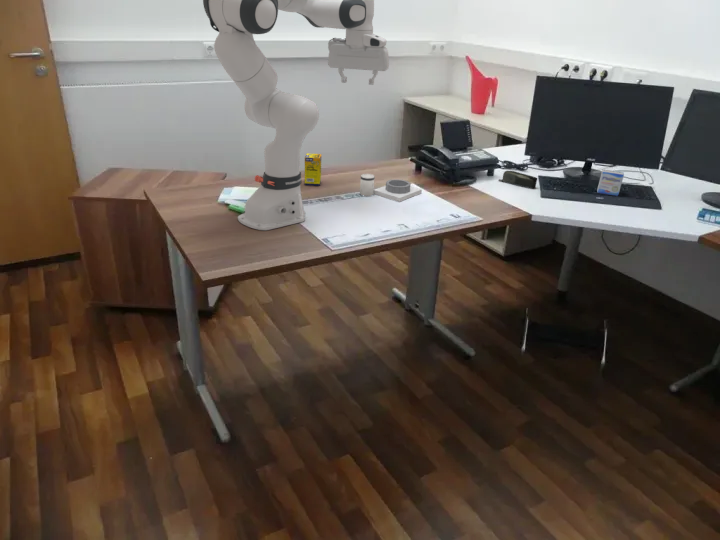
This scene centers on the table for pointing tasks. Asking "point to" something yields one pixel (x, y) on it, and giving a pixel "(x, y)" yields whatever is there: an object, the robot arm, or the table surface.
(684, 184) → the table surface
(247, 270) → the table surface
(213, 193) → the table surface
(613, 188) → the medicine box
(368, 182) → the lens cylinder
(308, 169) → the supplement box
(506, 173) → the dark green long block
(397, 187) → the collar mount
